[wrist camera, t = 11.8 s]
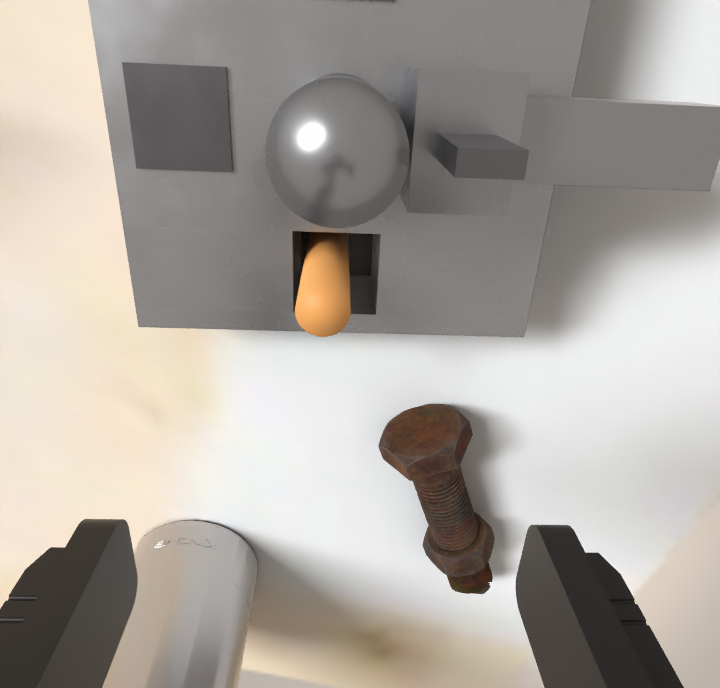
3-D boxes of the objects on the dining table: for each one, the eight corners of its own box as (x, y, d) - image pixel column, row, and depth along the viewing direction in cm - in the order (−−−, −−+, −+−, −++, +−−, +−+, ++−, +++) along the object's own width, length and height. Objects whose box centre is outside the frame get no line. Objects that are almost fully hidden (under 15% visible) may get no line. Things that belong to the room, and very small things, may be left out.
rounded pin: (348, 220, 30) (350, 285, 21) (348, 258, 31) (350, 336, 22) (308, 219, 30) (294, 285, 21) (309, 258, 31) (295, 336, 22)
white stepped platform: (579, 298, 33) (727, 444, 20) (170, 286, 32) (56, 432, 19) (676, -105, 24) (1041, -288, 12) (118, -141, 23) (-151, -384, 10)
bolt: (452, 543, 44) (403, 397, 37) (514, 555, 42) (474, 401, 35) (426, 607, 40) (366, 457, 33) (494, 626, 38) (443, 467, 30)
